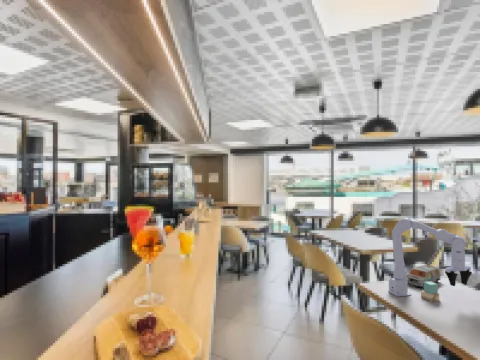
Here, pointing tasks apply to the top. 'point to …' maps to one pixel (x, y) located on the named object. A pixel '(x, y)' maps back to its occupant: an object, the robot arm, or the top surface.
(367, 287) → the top surface
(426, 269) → the toy car
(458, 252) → the robot arm
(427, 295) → the beech block
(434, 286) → the teal block
